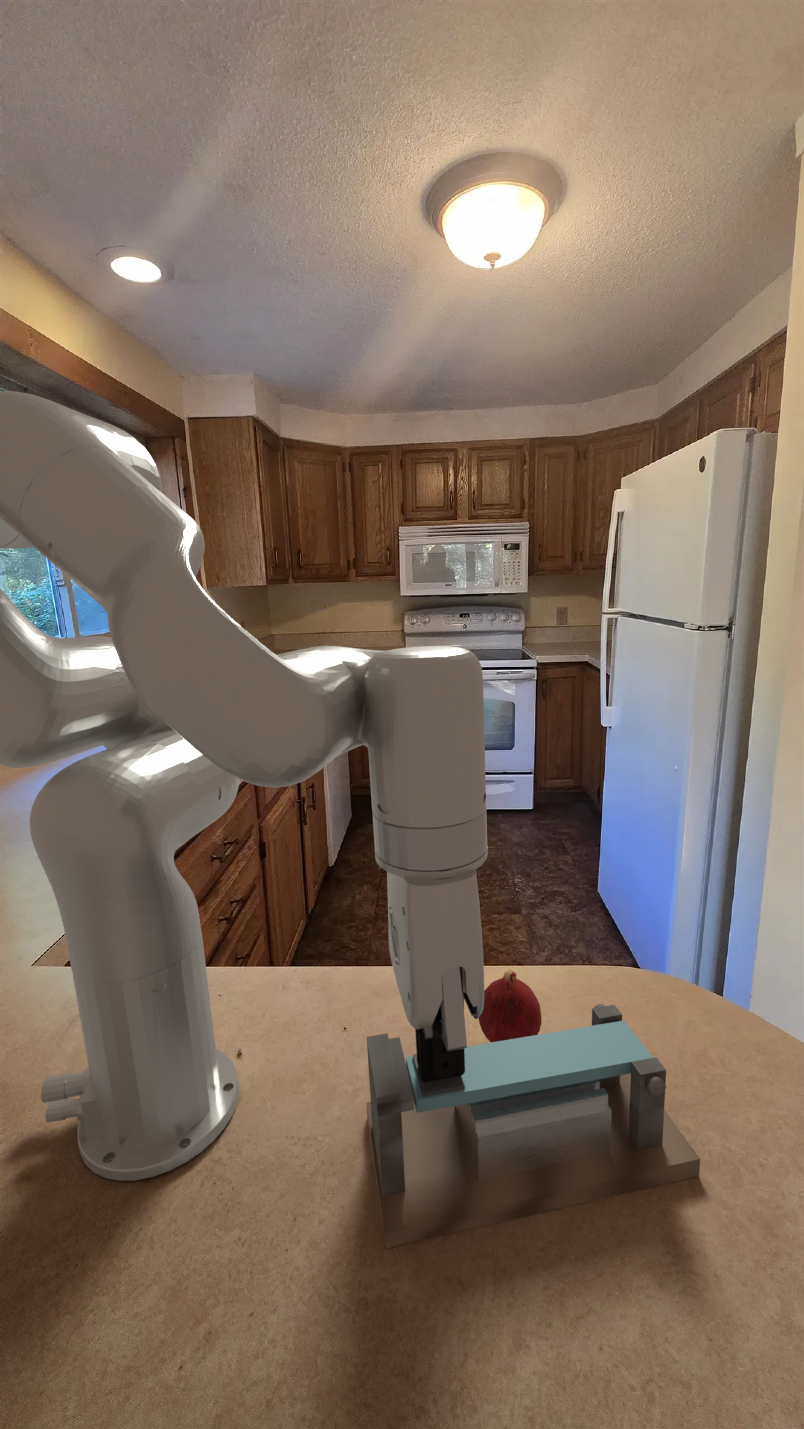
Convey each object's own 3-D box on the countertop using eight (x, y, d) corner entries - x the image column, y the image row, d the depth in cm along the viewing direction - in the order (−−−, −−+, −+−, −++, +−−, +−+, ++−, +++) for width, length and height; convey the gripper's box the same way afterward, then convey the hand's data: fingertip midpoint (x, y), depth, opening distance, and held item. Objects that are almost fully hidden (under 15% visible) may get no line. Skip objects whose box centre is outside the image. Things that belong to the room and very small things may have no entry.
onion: (542, 1077, 51) (542, 997, 50) (476, 1069, 52) (475, 990, 51) (540, 1030, 57) (540, 956, 55) (481, 1023, 58) (479, 951, 56)
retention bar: (416, 1112, 40) (416, 1096, 40) (406, 1068, 44) (405, 1053, 44) (653, 1069, 43) (653, 1054, 43) (623, 1031, 47) (624, 1017, 47)
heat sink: (478, 1181, 41) (477, 1127, 40) (454, 1105, 47) (453, 1057, 46) (610, 1152, 42) (611, 1100, 42) (570, 1082, 49) (570, 1036, 48)
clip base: (385, 1248, 38) (378, 1127, 36) (367, 1118, 48) (360, 1017, 46) (699, 1176, 42) (706, 1062, 40) (623, 1068, 52) (627, 973, 50)
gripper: (362, 802, 45) (376, 1010, 49) (392, 895, 31) (409, 1180, 34) (455, 792, 46) (462, 995, 50) (526, 876, 32) (529, 1153, 36)
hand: (440, 1070), depth 42 cm, fingers closed
